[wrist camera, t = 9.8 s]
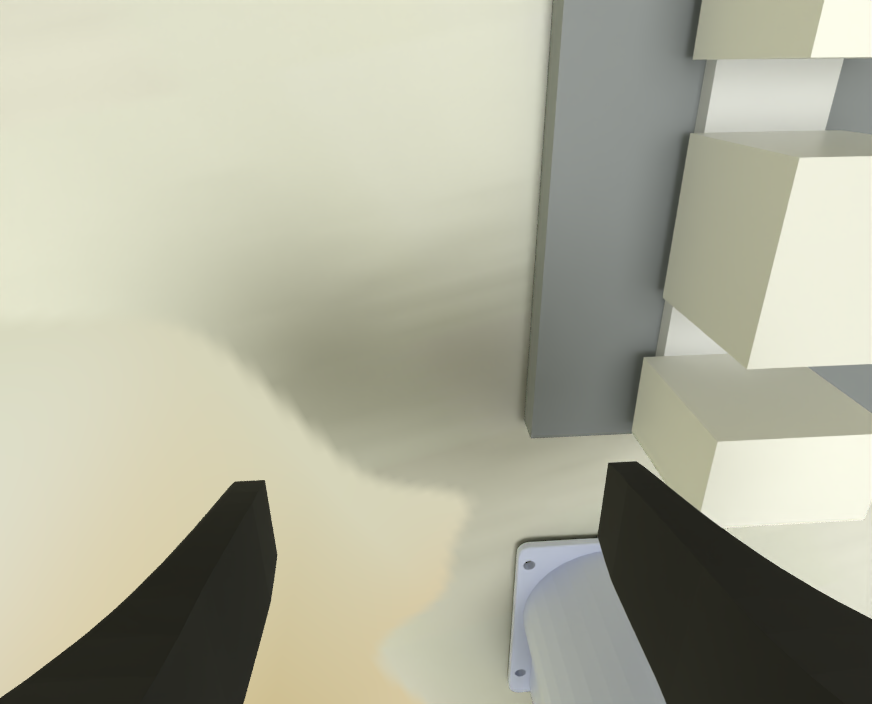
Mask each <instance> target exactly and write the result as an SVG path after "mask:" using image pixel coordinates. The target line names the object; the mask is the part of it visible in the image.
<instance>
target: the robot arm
mask: <svg viewBox="0 0 872 704" xmlns="http://www.w3.org/2000/svg"><path fill="white" fill-rule="evenodd" d="M276 561H277V551H276V545H275V539H274V533H273V527H272V521H271V515H270V509H269V503H268V497H267V491H266V485H265V480H259V481H240V482H234V483H233V484H232V485H231V486H230V487H229V488H228V489H227V491H226V492H225V493H224V494H223V495H222V496H221V497H220V499H219V500H218V501H217V502H216V503H215V505H214V506H213V507H212V508H211V509H210V510H209V512H208V513H207V514H206V515H205V517H203V518H202V520H201V521H200V522H199V523H198V524H197V526H196V527H195V528H194V529H193V530H192V531H191V532H190V533H189V534H188V536H187V537H186V538H185V539H184V540H183V541H182V542H181V543H180V544H179V545H178V546H177V548H176V549H175V550H174V551H173V552H172V553H171V554H170V555H169V556H168V557H167V558H166V559H165V561H164V562H163V563H162V564H161V565H160V566H159V567H158V568H157V569H156V570H155V571H154V572H153V573H152V574H151V575H150V576H149V577H148V578H147V579H146V580H145V581H144V582H143V583H142V584H141V585H140V586H139V587H138V588H137V589H136V590H135V591H134V592H133V593H132V594H131V595H130V596H128V598H126V599H125V600H124V601H123V602H122V603H121V604H120V605H119V606H118V607H117V608H116V609H114V610H113V611H112V612H111V613H110V614H109V615H108V616H106V617H105V618H104V619H103V620H102V621H101V622H100V623H98V624H97V625H96V626H95V627H94V628H92V629H91V630H90V631H89V632H88V633H87V634H85V635H84V636H83V637H82V638H80V639H79V640H78V641H77V642H75V643H74V644H73V645H71V646H70V647H69V648H67V649H66V650H65V651H64V652H62V653H61V654H60V655H58V656H57V657H56V658H54V659H53V660H52V661H50V662H49V663H48V664H46V665H45V666H44V667H43V668H41V669H40V670H39V671H37V672H36V673H35V674H33V675H32V676H31V677H29V678H28V679H27V680H25V681H24V682H23V683H21V684H20V685H18V686H17V687H16V688H14V689H13V690H11V691H10V692H8V693H7V694H5V695H4V696H2V697H1V698H0V704H243V702H244V699H245V696H246V692H247V688H248V684H249V681H250V677H251V674H252V670H253V666H254V663H255V659H256V655H257V651H258V648H259V644H260V641H261V637H262V633H263V629H264V625H265V622H266V618H267V614H268V610H269V606H270V602H271V595H272V589H273V583H274V575H275V568H276ZM527 561H531V562H529V563H525V562H527ZM508 684H509V689H510V690H511V691H514V692H529V691H530V693H531V698H532V702H533V704H872V619H871V618H869V617H867V616H865V615H863V614H861V613H859V612H857V611H855V610H853V609H851V608H849V607H847V606H846V605H844V604H842V603H840V602H838V601H836V600H834V599H832V598H831V597H829V596H827V595H825V594H823V593H822V592H820V591H818V590H816V589H815V588H813V587H811V586H810V585H808V584H806V583H805V582H803V581H801V580H800V579H798V578H796V577H795V576H793V575H791V574H790V573H788V572H786V571H785V570H783V569H781V568H780V567H778V566H777V565H775V564H774V563H772V562H770V561H769V560H767V559H766V558H764V557H763V556H761V555H760V554H758V553H757V552H755V551H754V550H753V549H751V548H750V547H748V546H747V545H745V544H744V543H742V542H741V541H740V540H738V539H737V538H735V537H734V536H732V535H731V534H730V533H728V532H727V531H726V530H724V529H723V528H721V527H720V526H719V525H717V524H716V523H715V522H713V521H712V520H711V519H709V518H708V517H707V516H705V515H704V514H703V513H702V512H700V511H699V510H698V509H696V508H695V507H694V506H693V505H691V504H690V503H689V502H687V501H686V500H685V499H684V498H682V497H681V496H680V495H679V494H677V493H676V492H675V491H674V490H672V489H671V488H670V487H669V486H667V485H666V484H665V483H664V482H662V481H661V480H660V479H659V478H657V477H656V476H655V475H654V474H652V473H651V472H650V471H649V470H647V469H646V468H645V467H643V466H642V465H641V464H639V463H638V462H637V461H636V462H616V463H608V469H607V476H606V483H605V490H604V496H603V503H602V510H601V517H600V524H599V530H598V538H589V539H572V540H555V541H538V542H526V543H523V544H522V545H520V546H519V547H518V549H517V556H516V570H515V585H514V599H513V613H512V627H511V642H510V656H509V670H508Z"/></svg>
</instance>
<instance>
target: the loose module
mask: <svg viewBox="0 0 872 704" xmlns="http://www.w3.org/2000/svg"><path fill="white" fill-rule="evenodd" d="M663 298H664V299H665V300H666V301H667V302H668V303H669V304H671V305H672V306H673V307H674V308H675V309H677V310H678V311H679V312H680V313H681V314H682V315H684V316H685V317H686V318H687V319H688V320H689V321H691V322H692V323H693V324H694V325H695V326H697V327H698V328H699V329H700V330H701V331H702V332H704V333H705V334H706V335H707V336H708V337H709V338H711V339H712V340H713V341H714V342H715V343H716V344H718V345H719V346H720V347H721V348H722V349H724V350H725V351H726V352H727V353H728V354H729V355H731V356H732V357H733V358H734V359H735V360H736V361H738V362H739V363H740V364H741V365H742V366H744V367H745V368H746V369H767V368H790V367H813V366H836V365H859V364H872V135H871V134H864V133H857V132H850V131H843V130H824V131H770V132H716V133H690V138H689V144H688V150H687V156H686V161H685V167H684V173H683V179H682V185H681V191H680V197H679V203H678V209H677V215H676V221H675V227H674V233H673V239H672V245H671V251H670V256H669V262H668V268H667V274H666V280H665V286H664V292H663Z"/></svg>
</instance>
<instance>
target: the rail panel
mask: <svg viewBox="0 0 872 704" xmlns="http://www.w3.org/2000/svg"><path fill="white" fill-rule="evenodd" d="M824 130H843V131H850V132H857V133H864V134H871V135H872V0H553V9H552V24H551V39H550V53H549V68H548V83H547V97H546V112H545V126H544V141H543V156H542V170H541V185H540V199H539V214H538V229H537V243H536V258H535V272H534V287H533V302H532V316H531V331H530V346H529V360H528V375H527V389H526V404H525V419H524V421H525V424H526V426H527V429H528V432H529V434H530V437H531V438H547V437H568V436H589V435H611V434H632V433H633V435H634V436H635V438H636V439H637V441H638V442H639V444H640V445H641V447H642V448H643V450H644V451H645V453H646V454H647V456H648V457H649V459H650V460H651V462H652V463H653V465H654V466H655V468H656V469H657V471H658V472H659V474H660V475H661V477H662V478H663V480H664V481H665V483H666V485H667V486H669V487H670V488H671V489H672V490H674V491H675V492H676V493H677V494H679V495H680V496H681V497H682V498H684V499H685V500H686V501H687V502H689V503H690V504H691V505H693V506H694V507H695V508H696V509H698V510H699V511H700V512H702V513H703V514H704V515H705V516H707V517H708V518H709V519H711V520H712V521H713V522H715V523H716V524H717V525H719V526H720V527H721V528H734V527H751V526H768V525H786V524H803V523H820V522H837V521H855V520H864V519H865V517H866V514H867V512H868V509H869V507H870V504H871V502H872V364H859V365H836V366H813V367H790V368H767V369H746V368H745V367H744V366H742V365H741V364H740V363H739V362H738V361H736V360H735V359H734V358H733V357H732V356H731V355H729V354H728V353H727V352H726V351H725V350H724V349H722V348H721V347H720V346H719V345H718V344H716V343H715V342H714V341H713V340H712V339H711V338H709V337H708V336H707V335H706V334H705V333H704V332H702V331H701V330H700V329H699V328H698V327H697V326H695V325H694V324H693V323H692V322H691V321H689V320H688V319H687V318H686V317H685V316H684V315H682V314H681V313H680V312H679V311H678V310H677V309H675V308H674V307H673V306H672V305H671V304H669V303H668V302H667V301H666V300H665V299H664V298H663V292H664V286H665V280H666V274H667V268H668V262H669V256H670V251H671V245H672V239H673V233H674V227H675V221H676V215H677V209H678V203H679V197H680V191H681V185H682V179H683V173H684V167H685V161H686V156H687V150H688V144H689V138H690V133H716V132H770V131H824Z"/></svg>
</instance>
